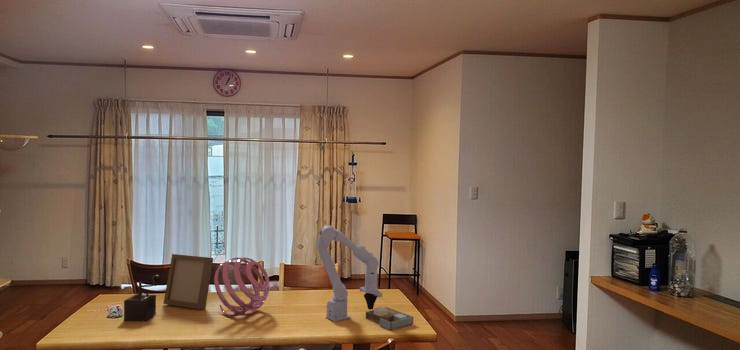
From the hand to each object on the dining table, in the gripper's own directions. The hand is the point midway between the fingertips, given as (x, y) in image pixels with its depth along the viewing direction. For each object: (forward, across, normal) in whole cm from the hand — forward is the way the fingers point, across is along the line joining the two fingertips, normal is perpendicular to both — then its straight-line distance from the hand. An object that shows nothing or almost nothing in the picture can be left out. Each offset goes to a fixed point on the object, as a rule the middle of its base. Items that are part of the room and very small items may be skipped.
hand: (370, 309), depth 231 cm
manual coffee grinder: (+4, +64, +85) cm, 106 cm away
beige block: (+1, -7, 0) cm, 7 cm away
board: (+4, -6, -3) cm, 8 cm away
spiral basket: (+4, +40, +47) cm, 61 cm away
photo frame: (+4, +69, +61) cm, 92 cm away
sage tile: (+3, -15, -6) cm, 16 cm away
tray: (+4, -16, -2) cm, 17 cm away
